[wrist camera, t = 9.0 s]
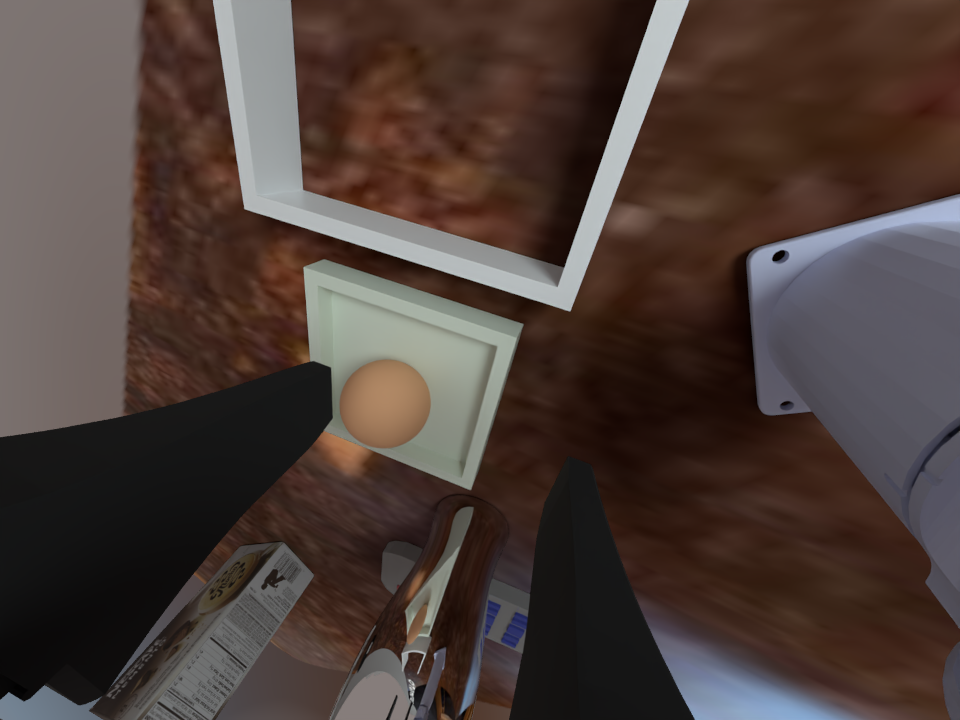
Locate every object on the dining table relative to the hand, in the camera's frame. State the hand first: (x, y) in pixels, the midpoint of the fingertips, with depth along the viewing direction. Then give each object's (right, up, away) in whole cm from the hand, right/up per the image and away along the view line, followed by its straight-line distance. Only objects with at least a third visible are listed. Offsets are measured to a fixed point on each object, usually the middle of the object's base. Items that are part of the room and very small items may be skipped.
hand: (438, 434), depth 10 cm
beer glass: (+1, -11, +18) cm, 21 cm away
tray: (-3, +1, +12) cm, 13 cm away
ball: (-4, +1, +12) cm, 13 cm away
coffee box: (-23, -22, +33) cm, 46 cm away
